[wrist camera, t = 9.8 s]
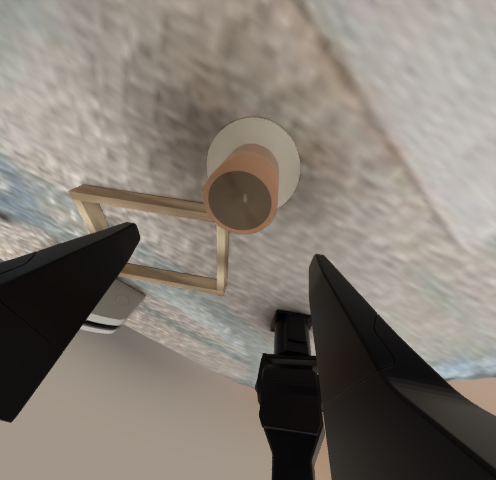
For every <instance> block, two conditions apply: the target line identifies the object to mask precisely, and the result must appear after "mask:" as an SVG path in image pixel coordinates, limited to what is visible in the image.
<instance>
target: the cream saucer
mask: <svg viewBox="0 0 496 480" xmlns="http://www.w3.org/2000/svg"><path fill="white" fill-rule="evenodd" d="M245 144H258V145H261V146H264V147H265V148H267V149H268V150H269V151H271V152H272V154H273V155H274V156H275V158H276V160H277V162H278V166H279V188H278V206H277V209H278V208H279V207H281V206H282V205H283V204H284V203H286V202H287V201H288V199H289V198H290V197H291V196H292V194H293V193H294V191H295V189H296V187H297V184H298V181H299V177H300V159H299V154H298V151H297V148H296V145H295V143H294V141H293V140H292V138H291V137H290V135H289V134H288V133H287V132H286V131H285V130H284V129H283V128H282V127H281V126H279V125H278V124H276V123H274V122H273V121H270V120H267V119H264V118H259V117H248V118H243V119H239V120H237V121H234V122H232V123H230V124H229V125H227V126H226V127H224V128H223V129H222V130H221V131H220V132H219V133H218V134H217V135H216V137H215V138H214V140H213V141H212V143H211V145H210V148H209V151H208V154H207V164H206V168H207V175H208V178H209V177H210V175H211V174H212V173H213V172H214V171H215V170H216V169H217V168H218V167H219V166H220V165H221V164H222V163H223V162H224V160H225V159H226V158H227V157H228V156H229V155H230V154H231V153H232V152H233V151H234V150H235V149H236V148H238V147H240V146H242V145H245Z"/></svg>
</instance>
